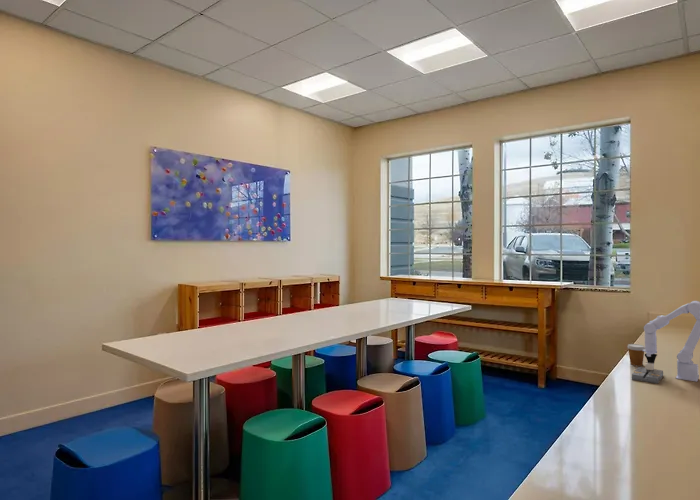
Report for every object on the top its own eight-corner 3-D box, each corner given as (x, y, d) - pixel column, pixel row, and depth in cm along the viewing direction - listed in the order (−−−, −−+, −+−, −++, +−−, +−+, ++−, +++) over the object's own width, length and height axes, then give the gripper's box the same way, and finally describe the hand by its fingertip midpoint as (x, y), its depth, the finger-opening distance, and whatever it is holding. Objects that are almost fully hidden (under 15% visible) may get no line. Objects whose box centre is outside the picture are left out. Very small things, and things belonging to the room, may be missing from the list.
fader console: (663, 375, 247) (663, 370, 247) (657, 383, 233) (657, 378, 233) (638, 371, 255) (638, 366, 255) (631, 379, 242) (631, 374, 242)
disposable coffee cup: (645, 367, 264) (644, 347, 264) (626, 365, 270) (626, 346, 270) (646, 363, 272) (645, 344, 272) (628, 361, 277) (627, 343, 277)
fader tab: (653, 371, 249) (653, 362, 249) (653, 373, 247) (652, 364, 247) (646, 370, 251) (646, 361, 251) (645, 371, 249) (645, 362, 249)
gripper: (644, 340, 260) (645, 362, 260) (640, 344, 250) (640, 367, 250) (659, 341, 256) (659, 364, 256) (654, 346, 245) (655, 370, 245)
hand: (651, 366), depth 252 cm, fingers closed
